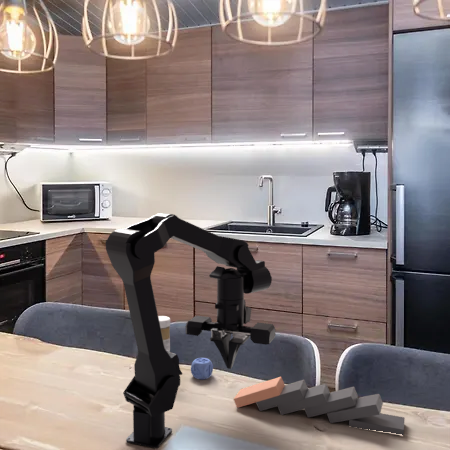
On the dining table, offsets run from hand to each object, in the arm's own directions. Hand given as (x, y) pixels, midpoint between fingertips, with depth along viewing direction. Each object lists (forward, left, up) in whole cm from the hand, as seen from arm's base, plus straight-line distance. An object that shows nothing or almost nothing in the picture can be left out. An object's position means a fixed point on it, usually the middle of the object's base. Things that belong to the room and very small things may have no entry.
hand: (229, 368), depth 103 cm
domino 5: (0, -22, -6) cm, 23 cm away
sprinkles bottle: (+10, +21, -8) cm, 25 cm away
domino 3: (0, -12, -7) cm, 13 cm away
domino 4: (+1, -17, -6) cm, 18 cm away
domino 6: (0, -26, -7) cm, 26 cm away
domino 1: (0, -2, -7) cm, 7 cm away
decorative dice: (+10, +10, -8) cm, 16 cm away
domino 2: (0, -7, -6) cm, 9 cm away
